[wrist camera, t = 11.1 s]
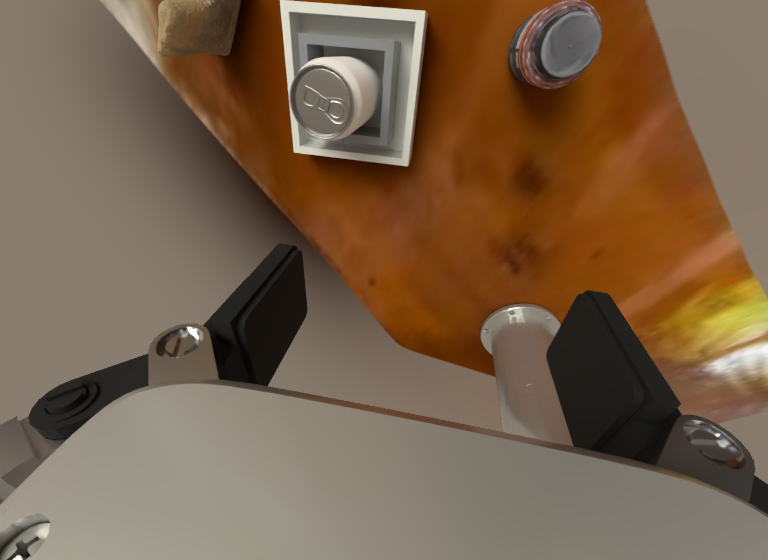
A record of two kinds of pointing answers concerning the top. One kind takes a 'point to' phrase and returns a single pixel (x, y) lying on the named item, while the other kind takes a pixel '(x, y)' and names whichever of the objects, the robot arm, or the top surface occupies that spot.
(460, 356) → the top surface
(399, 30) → the inlet box
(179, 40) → the stone
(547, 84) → the supplement bottle
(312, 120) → the can
